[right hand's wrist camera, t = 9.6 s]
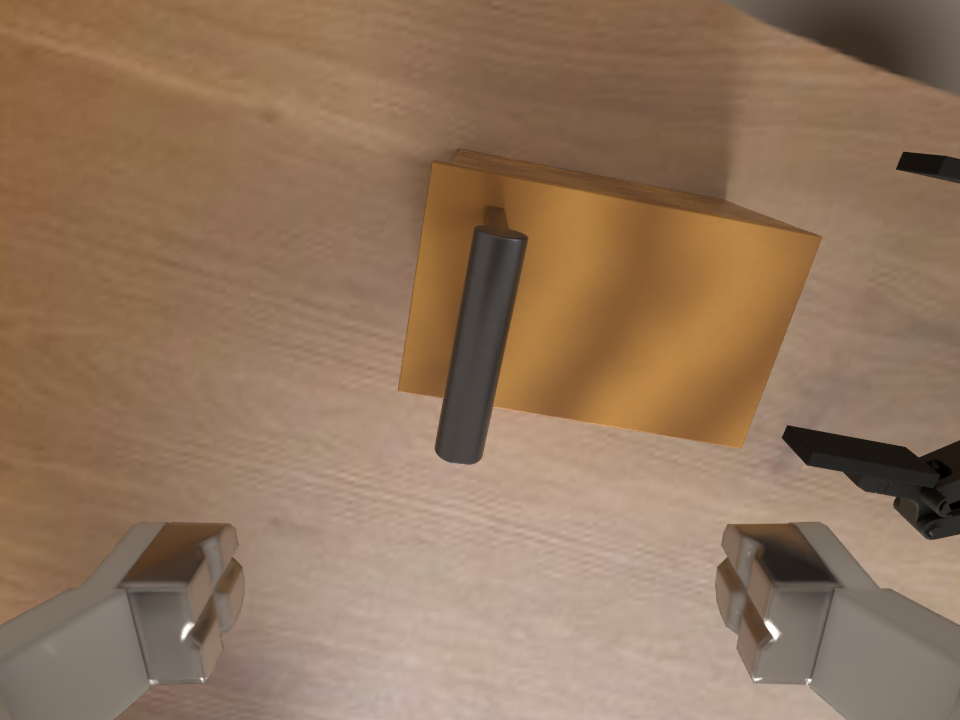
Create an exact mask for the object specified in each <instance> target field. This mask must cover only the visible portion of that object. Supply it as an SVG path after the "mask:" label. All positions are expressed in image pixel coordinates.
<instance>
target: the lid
mask: <svg viewBox="0 0 960 720" xmlns="http://www.w3.org/2000/svg"><path fill="white" fill-rule="evenodd" d="M821 239H822V237H821V236H819V235H816V234H814V233H811V232H805V231H800V230H795V229H790V228H784V227H779V226H774V225H769V224H764V223H758V222H753V221H748V220H743V219H737V218H732V217H727V216H722V215H717V214H711V213H706V212H701V211H696V210H691V209H685V208H680V207H675V206H670V205H664V204H659V203H654V202H649V201H644V200H638V199H633V198H628V197H623V196H618V195H612V194H607V193H602V192H597V191H591V190H586V189H581V188H576V187H571V186H565V185H560V184H555V183H550V182H544V181H539V180H534V179H529V178H524V177H518V176H513V175H508V174H503V173H498V172H492V171H487V170H482V169H477V168H471V167H466V166H461V165H456V164H451V163H445V162H440V161H433V162H432V166H431V173H430V179H429V186H428V193H427V199H426V206H425V213H424V219H423V226H422V233H421V240H420V246H419V253H418V260H417V266H416V273H415V280H414V286H413V293H412V300H411V306H410V313H409V320H408V327H407V333H406V340H405V347H404V353H403V360H402V367H401V373H400V380H399V387H398V391H400V392H406V393H412V394H418V395H424V396H430V397H436V398H442V399H443V404H442V409H441V415H440V421H439V426H438V432H437V437H436V443H435V452H436V454H437V455H438V456H439V457H440V458H442V459H443V460H445V461H447V462H450V463H453V464H458V465H471V464H475V463H477V462H479V461H480V460H481V458H482V456H483V451H484V446H485V441H486V437H487V432H488V427H489V423H490V418H491V413H492V408H493V407H496V408H502V409H508V410H514V411H520V412H526V413H532V414H538V415H544V416H550V417H556V418H562V419H568V420H574V421H580V422H586V423H592V424H598V425H604V426H610V427H616V428H622V429H628V430H634V431H640V432H646V433H652V434H658V435H663V436H669V437H675V438H681V439H687V440H693V441H699V442H705V443H711V444H717V445H723V446H729V447H735V448H742V446H743V443H744V440H745V438H746V435H747V433H748V430H749V427H750V425H751V422H752V420H753V417H754V414H755V412H756V409H757V406H758V404H759V401H760V399H761V396H762V393H763V391H764V388H765V386H766V383H767V380H768V378H769V375H770V372H771V370H772V367H773V365H774V362H775V359H776V357H777V354H778V352H779V349H780V346H781V344H782V341H783V339H784V336H785V333H786V331H787V328H788V325H789V323H790V320H791V318H792V315H793V312H794V310H795V307H796V305H797V302H798V299H799V297H800V294H801V291H802V289H803V286H804V284H805V281H806V278H807V276H808V273H809V271H810V268H811V265H812V263H813V260H814V257H815V255H816V252H817V250H818V247H819V244H820V242H821Z"/></svg>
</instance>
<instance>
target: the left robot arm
mask: <svg viewBox="0 0 960 720" xmlns="http://www.w3.org/2000/svg"><path fill="white" fill-rule="evenodd" d="M896 170H901V171H906V172H910V173H915V174H919V175H924V176H928V177H933V178H938V179H942V180H947V181H951V182H956V183H960V159H957V158H952V157H948V156H941V155H931V154H921V153H910V152H903V154H902V156H901V158H900V161H899V163H898V165H897V168H896ZM782 439H783V440H784V441H785V442H786V443H787V444H788V445H789V446H790V447H791V448H792V450H793V451H794V452H795V453H796V454H797V455H798V456H799V457H800V458H801V459H802V460H803V461H804V463H805V464H806V465H808V466H814V467H819V468H825V469H830V470H836V471H842V472H844V473H845V474H846V475H847V476H848V477H849V478H850V479H851V480H852V481H853V482H854V483H855V484H856V485H857V486H858V487H859V488H861V489H862V490H864V491H866V492H872V493H877V494H884V495H889V496H894V497H896V499H895V500H894V504H893V506H894V508H895V509H896V510H897V511H898V512H899V513H900V514H901V515H902V516H903V517H904V518H905V519H906V520H907V521H908V522H909V523H910V524H911V525H912V526H913V527H914V528H915V529H916V530H917V531H919V532H920V533H921V534H922V535H923V536H924V537H925V538H926V539H929V540H933V539H939V538H944V537H949V536H953V535H958V534H960V440H959V441H957V442H955V443H952V444H950V445H948V446H945V447H943V448H941V449H938V450H936V451H933V452H931V453H929V454H926V455H924V456H922V457H917V456H916V455H915V454H913V453H912V452H911V451H910V450H908V449H907V448H906V447H902V446H897V445H891V444H886V443H880V442H875V441H870V440H864V439H859V438H853V437H848V436H843V435H837V434H832V433H826V432H821V431H816V430H810V429H805V428H799V427H794V426H788V425H787V427H786V429H785V432H784V434H783V436H782Z"/></svg>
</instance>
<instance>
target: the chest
mask: <svg viewBox="0 0 960 720" xmlns="http://www.w3.org/2000/svg"><path fill="white" fill-rule="evenodd" d="M451 164H456V165H461V166H466V167H471V168H477V169H482V170H487V171H492V172H498V173H503V174H508V175H513V176H518V177H524V178H529V179H534V180H539V181H544V182H550V183H555V184H560V185H565V186H571V187H576V188H581V189H586V190H591V191H597V192H602V193H607V194H612V195H618V196H623V197H628V198H633V199H638V200H644V201H649V202H654V203H659V204H664V205H670V206H675V207H680V208H685V209H691V210H696V211H701V212H706V213H711V214H717V215H722V216H727V217H732V218H737V219H743V220H748V221H753V222H758V223H764V224H769V225H774V226H779V227H784V228H790V229H795V230H800V231H805V230H803V229H800V228H797V227H795V226H792V225H789V224H787V223H784V222H781V221H779V220H776V219H773V218H770V217H768V216H765V215H762V214H760V213H757V212H754V211H752V210H749V209H746V208H744V207H741V206H738V205H736V204H734V203H731V202H729V201H726V200H721V199H716V198H711V197H706V196H700V195H695V194H690V193H685V192H680V191H675V190H669V189H664V188H659V187H654V186H649V185H644V184H638V183H633V182H628V181H623V180H618V179H613V178H607V177H602V176H597V175H592V174H587V173H582V172H576V171H571V170H566V169H561V168H556V167H551V166H545V165H540V164H535V163H530V162H525V161H519V160H514V159H509V158H504V157H499V156H494V155H488V154H483V153H478V152H473V151H468V150H463V149H458V152H457V154H456V156H455V158H454V159H453V161H452V163H451ZM805 232H808V231H805Z"/></svg>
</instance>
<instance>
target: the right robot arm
mask: <svg viewBox="0 0 960 720" xmlns="http://www.w3.org/2000/svg"><path fill="white" fill-rule="evenodd" d="M238 545H239V543H238V539H237V534H236V529H235V527H233V526H232V525H231V524H227V523H181V522H171V523H168V522H141V523H138V524H136V525H133V526H132V528H131V529H130V530H129V531H128V532H127V533H126V535H125V536H124V537H123V538H122V539H121V541H120V542H119V543H118V544H117V545H116V546H115V548H114V549H113V550H112V551H111V552H110V554H109V555H108V556H107V557H106V558H105V559H104V561H103V562H102V563H101V564H100V565H99V567H98V568H97V569H96V570H95V571H94V572H93V574H92V575H91V576H90V577H89V578H88V580H87V581H86V582H85V583H84V584H83V585H82V587H81V588H80V589H68V590H66V591H65V592H63V593H61V594H59V595H57V596H55V597H53V598H51V599H49V600H47V601H46V602H44V603H42V604H40V605H38V606H36V607H34V608H32V609H30V610H28V611H27V612H25V613H23V614H21V615H19V616H17V617H15V618H13V619H11V620H9V621H8V622H6V623H4V624H2V625H0V720H114V719H115V718H116V717H117V716H118V715H119V714H121V713H122V712H123V711H124V710H125V709H126V708H128V707H129V706H130V705H131V704H132V703H133V702H134V701H136V700H137V699H138V698H139V697H140V696H141V695H143V694H144V693H145V692H146V691H147V690H148V689H150V685H159V684H194V683H207V681H208V679H209V677H210V675H211V673H212V671H213V669H214V667H215V665H216V663H217V661H218V659H219V657H220V655H221V653H222V650H223V642H222V637H221V635H223V634H224V633H225V632H227V631H228V630H230V629H231V628H232V627H234V625H235V623H236V621H237V619H238V616H239V614H240V612H241V607H242V603H243V598H244V580H245V579H244V573H243V567H242V566H241V565H240V564H239V563H238V562H237V561H236V560H235V559H234V558H233V555H234V553H235V551H236V549H237V547H238ZM721 545H722V547H723V549H724V551H725V553H726V555H727V558H726V559H725V560H724V561H723V562H722V563H721V564H720V565H719V566H718V567H717V574H716V582H715V587H716V599H717V604H718V608H719V611H720V614H721V617H722V619H723V621H724V623H725V625H726V627H728V628H729V629H730V630H732V631H733V632H735V633H736V634H737V635H739V637H738V642H737V650H738V653H739V655H740V657H741V659H742V661H743V663H744V665H745V667H746V669H747V671H748V673H749V675H750V677H751V679H752V681H753V683H765V684H800V685H810V688H811V689H812V690H813V691H814V692H815V693H817V694H818V695H819V696H820V697H821V698H822V699H823V700H825V701H826V702H827V703H828V704H829V705H830V706H832V707H833V708H834V709H835V710H836V711H837V712H838V713H840V714H841V715H842V716H843V717H844V718H845V719H847V720H960V625H958V624H956V623H954V622H952V621H950V620H949V619H947V618H945V617H943V616H941V615H939V614H937V613H935V612H933V611H931V610H930V609H928V608H926V607H924V606H922V605H920V604H918V603H916V602H914V601H913V600H911V599H909V598H907V597H905V596H903V595H901V594H899V593H897V592H895V591H894V590H892V589H880V588H879V587H878V585H877V584H876V583H875V582H874V581H873V580H872V578H871V577H870V576H869V575H868V574H867V572H866V571H865V570H864V569H863V568H862V567H861V565H860V564H859V563H858V562H857V561H856V559H855V558H854V557H853V556H852V555H851V554H850V552H849V551H848V550H847V549H846V548H845V546H844V545H843V544H842V543H841V542H840V541H839V539H838V538H837V537H836V536H835V535H834V534H833V532H832V531H831V530H830V529H829V528H828V526H826V525H825V524H823V523H821V522H797V523H788V524H727V526H726V528H725V530H724V532H723V538H722V543H721Z"/></svg>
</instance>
